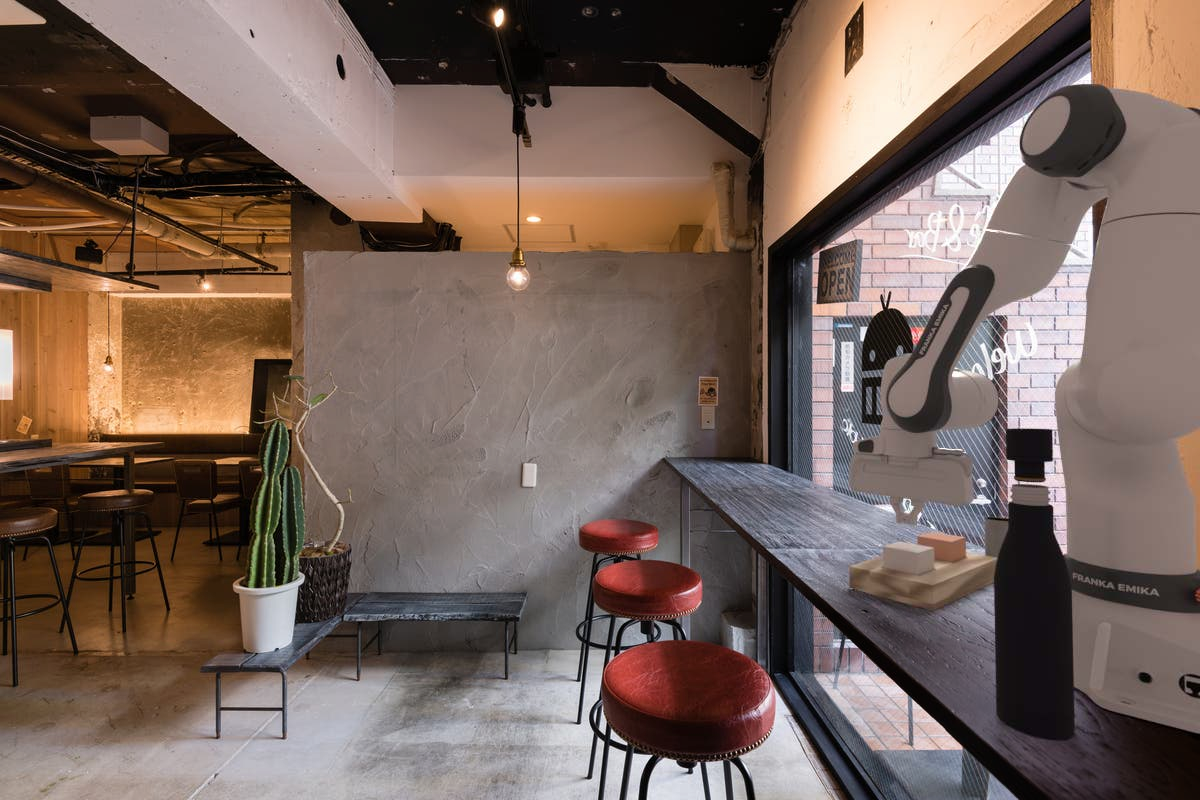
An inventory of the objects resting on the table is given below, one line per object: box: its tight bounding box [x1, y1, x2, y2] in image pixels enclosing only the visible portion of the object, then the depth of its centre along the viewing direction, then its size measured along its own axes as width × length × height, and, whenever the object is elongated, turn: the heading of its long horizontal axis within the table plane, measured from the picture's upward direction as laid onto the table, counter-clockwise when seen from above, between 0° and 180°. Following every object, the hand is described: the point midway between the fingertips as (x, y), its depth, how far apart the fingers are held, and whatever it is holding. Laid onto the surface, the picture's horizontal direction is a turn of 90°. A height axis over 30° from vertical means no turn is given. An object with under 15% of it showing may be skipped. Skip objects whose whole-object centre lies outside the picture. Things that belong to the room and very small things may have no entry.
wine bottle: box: [993, 427, 1076, 741], centre depth 59 cm, size 6×6×30 cm
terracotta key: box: [917, 531, 967, 563], centre depth 109 cm, size 6×6×4 cm
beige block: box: [882, 541, 935, 576], centre depth 101 cm, size 6×6×4 cm
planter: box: [984, 516, 1008, 558], centre depth 112 cm, size 4×4×10 cm
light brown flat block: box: [848, 551, 997, 611], centre depth 105 cm, size 14×27×4 cm, turn 127°
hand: (906, 524), depth 101 cm, fingers closed
